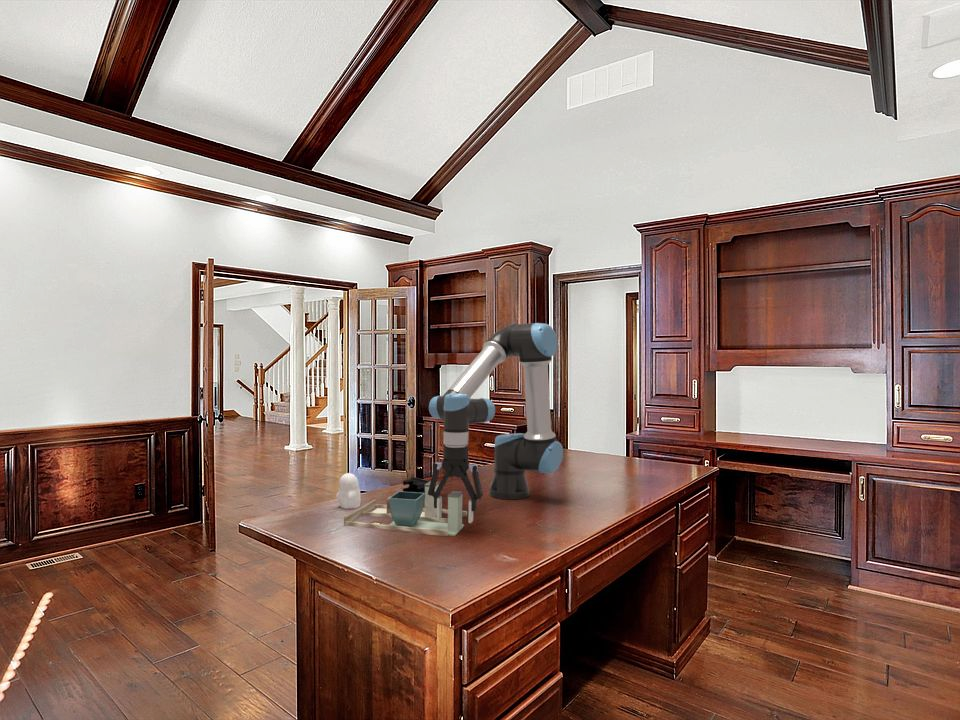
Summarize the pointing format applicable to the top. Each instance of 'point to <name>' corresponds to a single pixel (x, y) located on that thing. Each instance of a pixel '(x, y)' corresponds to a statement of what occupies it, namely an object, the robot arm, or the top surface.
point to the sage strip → (453, 516)
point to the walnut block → (388, 506)
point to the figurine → (349, 492)
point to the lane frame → (373, 504)
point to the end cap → (415, 485)
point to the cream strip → (429, 504)
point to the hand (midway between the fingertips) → (454, 520)
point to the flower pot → (406, 507)
